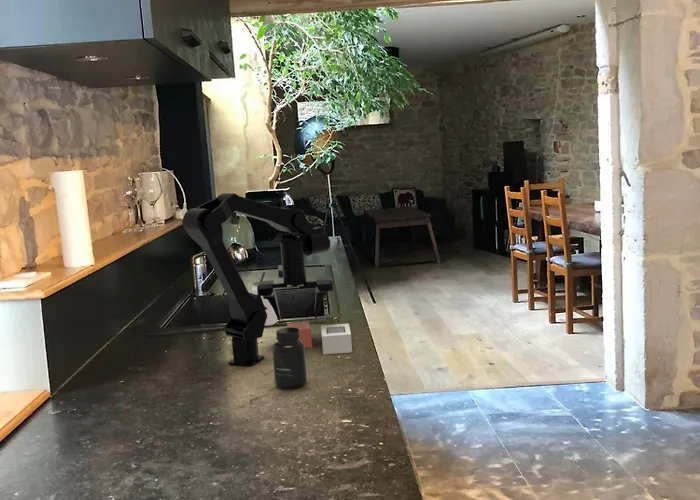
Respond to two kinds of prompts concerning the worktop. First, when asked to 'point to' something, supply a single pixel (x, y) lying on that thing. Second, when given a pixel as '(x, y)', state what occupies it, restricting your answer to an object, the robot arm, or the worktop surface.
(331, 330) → the button
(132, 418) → the worktop surface
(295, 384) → the supplement bottle
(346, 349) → the box
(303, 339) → the salmon red block
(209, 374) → the worktop surface
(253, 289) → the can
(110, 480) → the worktop surface
